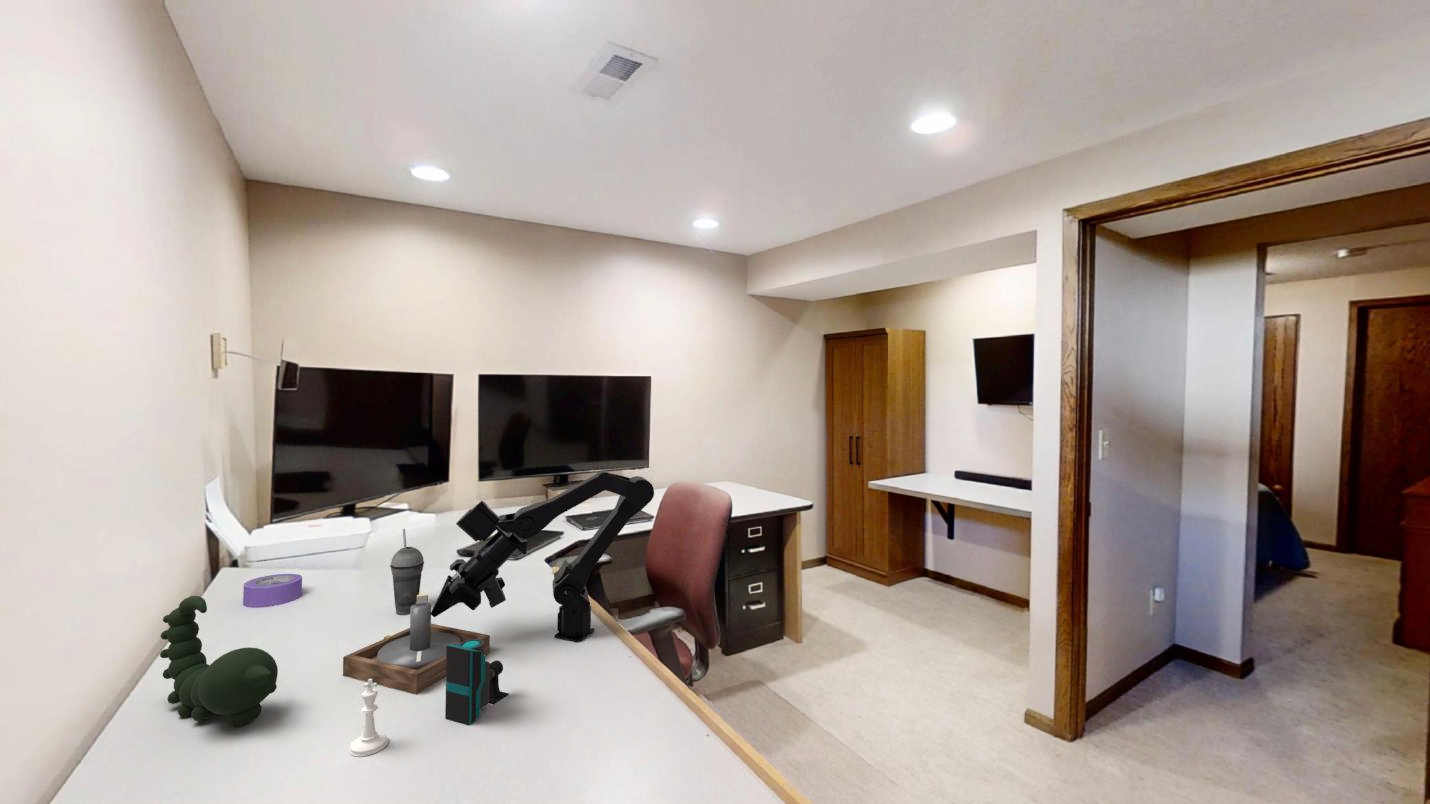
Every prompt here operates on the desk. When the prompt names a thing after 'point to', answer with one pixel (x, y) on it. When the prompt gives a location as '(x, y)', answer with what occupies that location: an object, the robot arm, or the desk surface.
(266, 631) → the desk surface
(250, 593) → the tape roll
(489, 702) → the surveillance camera
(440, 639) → the knob
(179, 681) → the toy figurine
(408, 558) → the beverage cup
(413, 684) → the dial base
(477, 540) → the robot arm
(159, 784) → the desk surface
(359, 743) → the chess piece
